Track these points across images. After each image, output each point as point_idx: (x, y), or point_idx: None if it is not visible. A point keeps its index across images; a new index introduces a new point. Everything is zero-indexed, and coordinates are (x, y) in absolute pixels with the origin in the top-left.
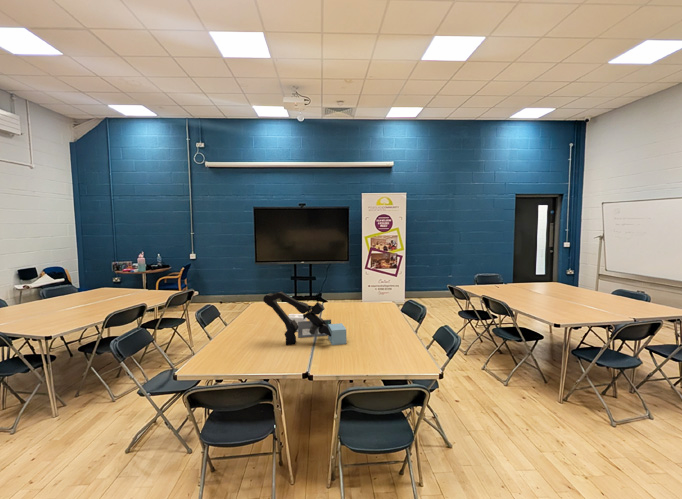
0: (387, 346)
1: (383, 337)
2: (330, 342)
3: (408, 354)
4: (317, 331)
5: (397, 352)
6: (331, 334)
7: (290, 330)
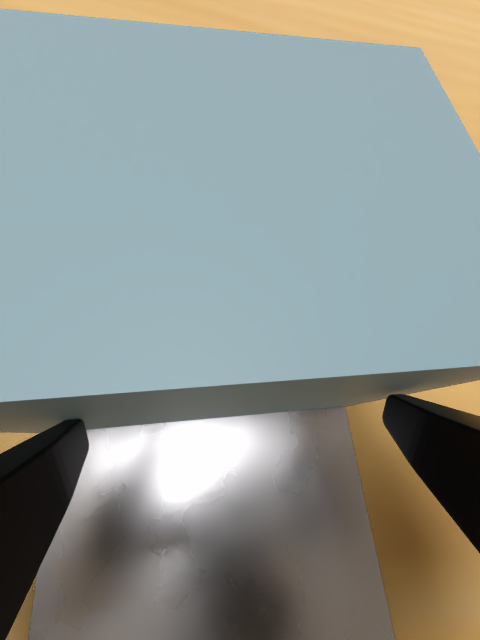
0: (346, 39)
1: (181, 5)
2: (249, 414)
3: (451, 13)
4: None
5: (433, 35)
6: (421, 387)
7: None
